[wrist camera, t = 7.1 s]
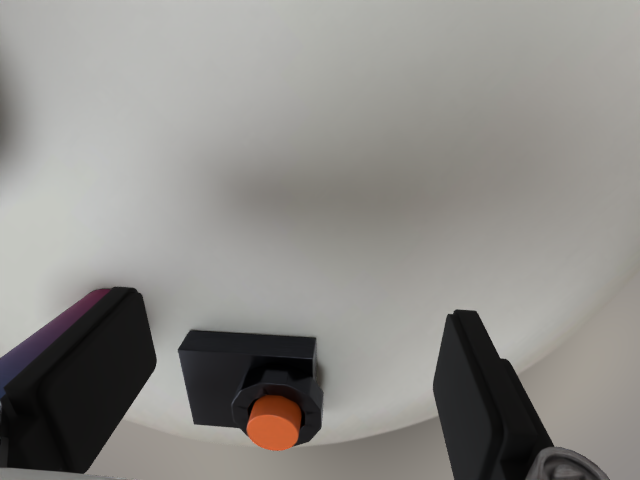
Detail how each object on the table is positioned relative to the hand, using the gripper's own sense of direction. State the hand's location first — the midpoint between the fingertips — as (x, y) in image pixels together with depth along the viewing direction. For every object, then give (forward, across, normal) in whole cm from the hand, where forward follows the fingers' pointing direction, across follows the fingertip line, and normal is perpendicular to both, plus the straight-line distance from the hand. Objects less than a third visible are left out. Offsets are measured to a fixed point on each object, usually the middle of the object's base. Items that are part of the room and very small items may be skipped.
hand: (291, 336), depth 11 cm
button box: (+13, +5, +15) cm, 21 cm away
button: (+10, +3, +15) cm, 18 cm away
